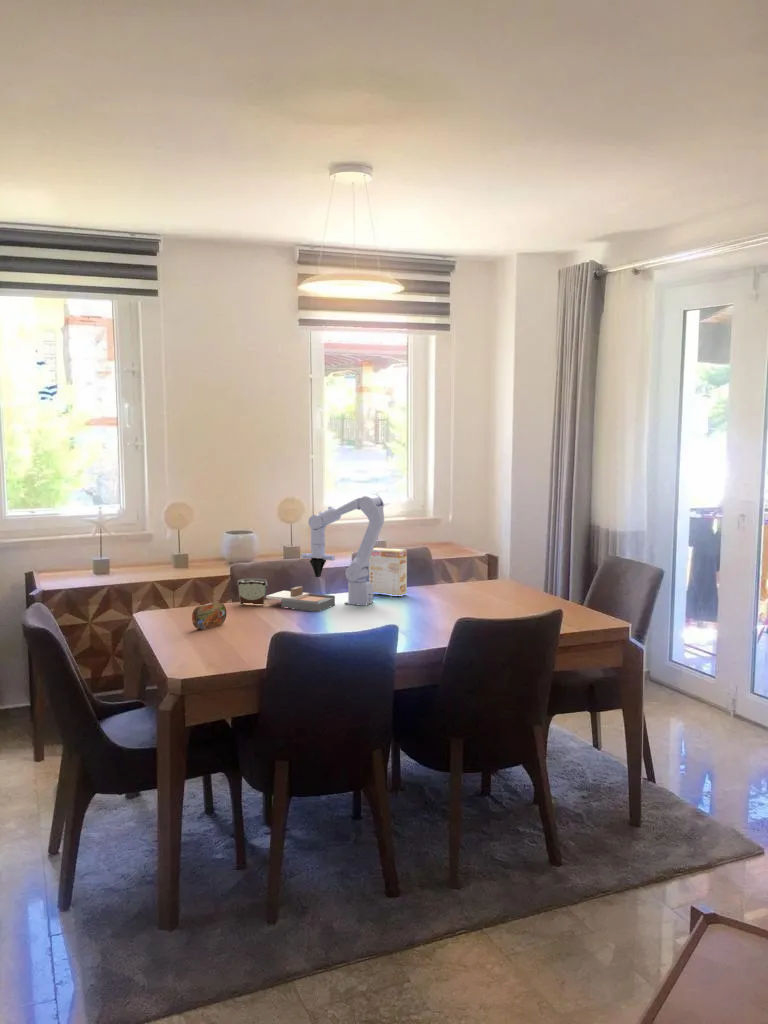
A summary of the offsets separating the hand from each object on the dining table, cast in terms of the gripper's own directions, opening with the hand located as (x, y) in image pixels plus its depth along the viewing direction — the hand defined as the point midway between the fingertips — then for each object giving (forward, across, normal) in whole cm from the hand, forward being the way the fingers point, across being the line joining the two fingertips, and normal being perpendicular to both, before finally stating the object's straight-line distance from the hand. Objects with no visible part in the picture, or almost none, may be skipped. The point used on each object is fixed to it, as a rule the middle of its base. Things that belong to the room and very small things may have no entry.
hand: (317, 576), depth 354 cm
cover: (+6, -5, -15) cm, 17 cm away
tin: (+10, -9, -62) cm, 63 cm away
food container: (+10, -18, -20) cm, 29 cm away
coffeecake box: (+10, +21, +23) cm, 33 cm away
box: (+9, +4, -15) cm, 18 cm away
